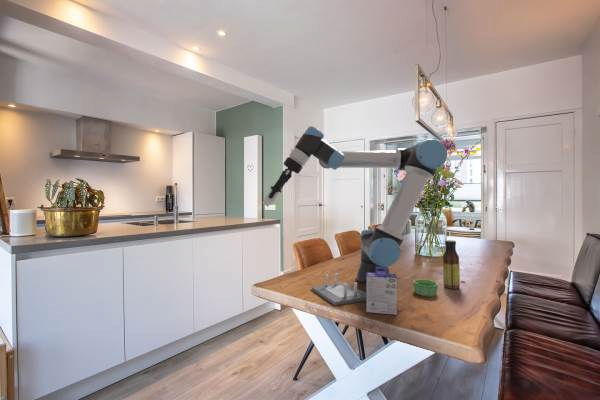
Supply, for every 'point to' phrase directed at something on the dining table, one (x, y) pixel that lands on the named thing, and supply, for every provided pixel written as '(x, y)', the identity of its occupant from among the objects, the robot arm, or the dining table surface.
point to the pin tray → (339, 292)
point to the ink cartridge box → (381, 292)
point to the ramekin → (425, 287)
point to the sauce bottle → (451, 266)
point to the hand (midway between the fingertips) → (266, 203)
